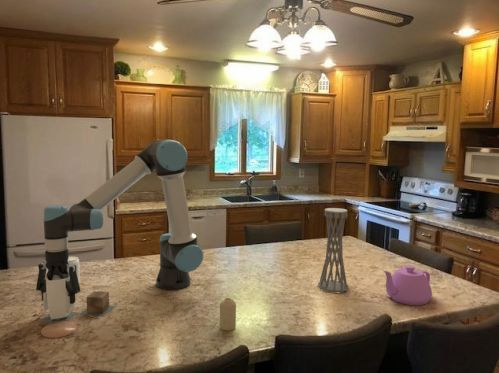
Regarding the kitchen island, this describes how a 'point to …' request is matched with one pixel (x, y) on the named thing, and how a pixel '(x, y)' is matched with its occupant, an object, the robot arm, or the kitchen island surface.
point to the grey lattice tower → (334, 252)
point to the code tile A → (49, 320)
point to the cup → (57, 297)
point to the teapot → (409, 286)
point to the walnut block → (97, 302)
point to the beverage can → (75, 261)
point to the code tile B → (98, 313)
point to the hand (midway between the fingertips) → (58, 310)
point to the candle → (227, 314)
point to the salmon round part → (59, 329)
